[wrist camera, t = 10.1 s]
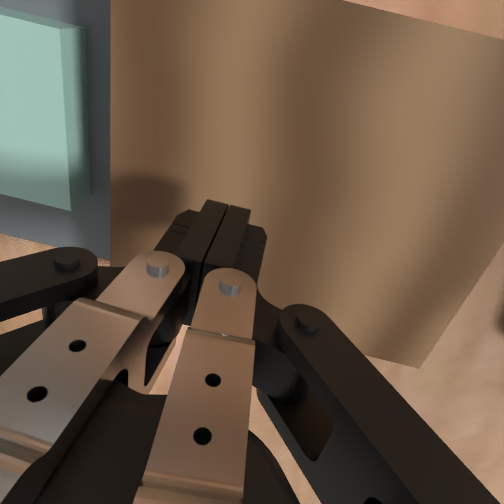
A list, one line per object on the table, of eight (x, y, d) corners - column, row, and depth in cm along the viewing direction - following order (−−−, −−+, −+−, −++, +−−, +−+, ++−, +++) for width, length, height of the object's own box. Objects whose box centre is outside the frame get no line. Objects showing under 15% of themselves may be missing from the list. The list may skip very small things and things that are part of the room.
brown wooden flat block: (550, 56, 15) (620, 68, 12) (403, 315, 23) (419, 368, 19) (155, -41, 15) (110, -57, 12) (140, 250, 23) (110, 292, 19)
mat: (144, -77, 14) (141, -78, 14) (131, 262, 23) (129, 265, 23) (-163, -152, 14) (-171, -155, 14) (-61, 214, 23) (-65, 217, 23)
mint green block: (-80, -6, 15) (-40, -3, 16) (-37, 184, 19) (-8, 170, 21) (59, 29, 15) (85, 27, 16) (70, 210, 19) (90, 195, 21)
